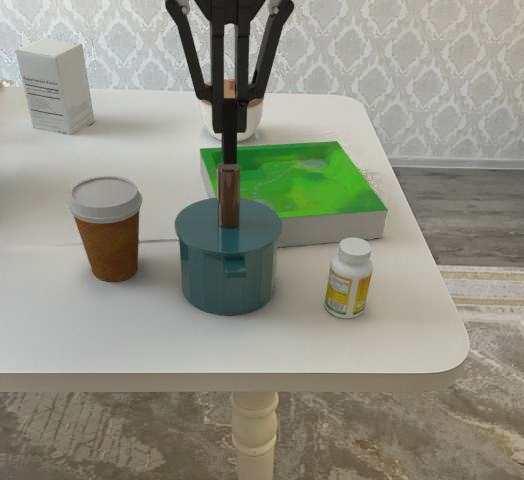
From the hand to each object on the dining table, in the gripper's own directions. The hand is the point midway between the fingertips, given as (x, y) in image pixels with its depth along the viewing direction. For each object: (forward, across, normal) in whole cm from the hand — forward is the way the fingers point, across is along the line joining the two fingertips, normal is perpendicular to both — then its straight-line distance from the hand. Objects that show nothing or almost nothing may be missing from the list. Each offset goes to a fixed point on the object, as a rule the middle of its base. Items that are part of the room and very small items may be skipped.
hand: (229, 159), depth 69 cm
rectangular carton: (+19, -27, +57) cm, 66 cm away
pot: (+19, 0, 0) cm, 19 cm away
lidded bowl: (+19, +6, +50) cm, 54 cm away
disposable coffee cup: (+19, -16, +6) cm, 25 cm away
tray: (+19, +12, +22) cm, 31 cm away
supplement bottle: (+19, +15, -6) cm, 25 cm away
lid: (+9, 0, 0) cm, 9 cm away
